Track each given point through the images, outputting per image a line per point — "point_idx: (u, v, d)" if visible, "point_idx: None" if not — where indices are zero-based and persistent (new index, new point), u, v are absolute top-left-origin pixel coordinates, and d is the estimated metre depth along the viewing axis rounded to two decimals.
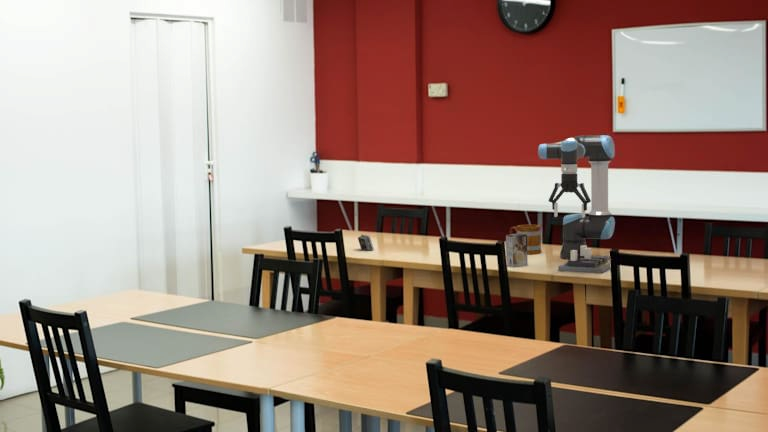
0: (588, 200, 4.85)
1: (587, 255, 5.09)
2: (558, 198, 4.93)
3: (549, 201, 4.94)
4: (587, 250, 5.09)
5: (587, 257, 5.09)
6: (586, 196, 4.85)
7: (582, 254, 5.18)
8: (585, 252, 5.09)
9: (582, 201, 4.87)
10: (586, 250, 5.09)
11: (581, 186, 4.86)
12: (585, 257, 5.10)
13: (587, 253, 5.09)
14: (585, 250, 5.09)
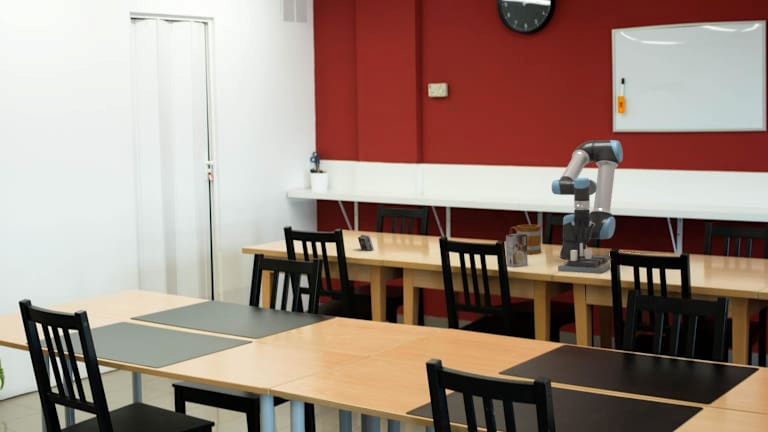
0: (588, 240, 5.08)
1: (588, 255, 5.09)
2: (580, 236, 5.11)
3: (575, 241, 5.11)
4: (588, 250, 5.09)
5: (588, 257, 5.09)
6: (589, 236, 5.08)
7: None
8: (586, 252, 5.09)
9: (583, 239, 5.09)
10: (587, 250, 5.09)
11: (591, 226, 5.06)
12: (586, 257, 5.09)
13: (588, 253, 5.09)
14: (586, 250, 5.09)
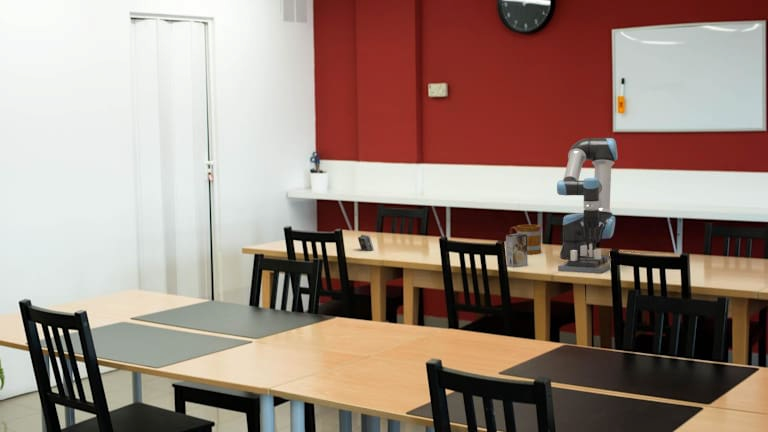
0: (597, 240, 5.06)
1: (597, 256, 5.07)
2: (590, 236, 5.09)
3: (585, 241, 5.09)
4: (597, 250, 5.06)
5: (597, 258, 5.07)
6: (598, 236, 5.05)
7: (582, 254, 5.18)
8: (595, 252, 5.07)
9: (592, 240, 5.07)
10: (596, 250, 5.06)
11: (601, 226, 5.04)
12: (595, 258, 5.07)
13: (597, 253, 5.06)
14: (595, 250, 5.07)
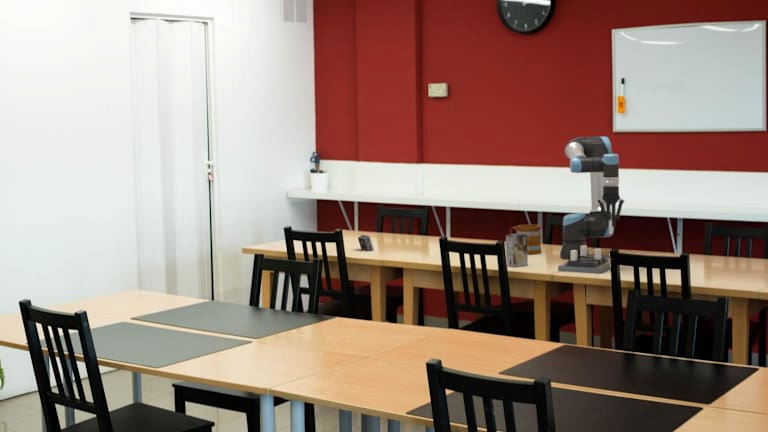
0: (617, 217, 5.00)
1: (597, 256, 5.07)
2: (609, 213, 5.03)
3: (604, 218, 5.03)
4: (597, 250, 5.06)
5: (597, 258, 5.07)
6: (618, 213, 4.99)
7: (582, 254, 5.18)
8: (595, 252, 5.07)
9: (612, 217, 5.01)
10: (596, 250, 5.06)
11: (620, 202, 4.98)
12: (595, 258, 5.07)
13: (597, 253, 5.06)
14: (595, 250, 5.07)
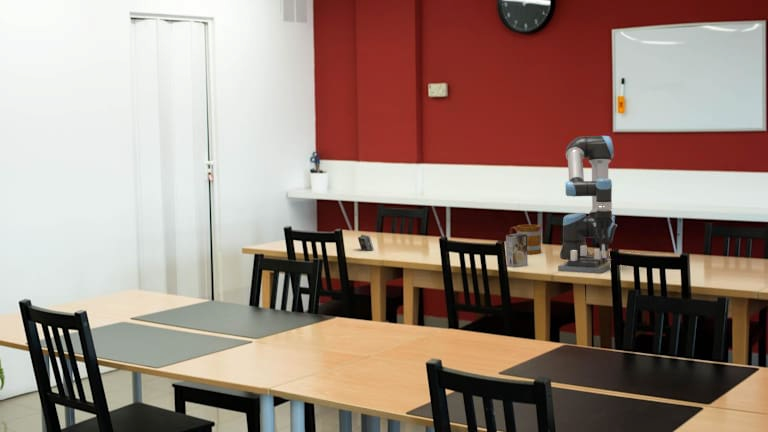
0: (610, 241, 5.03)
1: (597, 255, 5.07)
2: (602, 237, 5.06)
3: (597, 242, 5.06)
4: (597, 250, 5.06)
5: (597, 258, 5.07)
6: (611, 237, 5.03)
7: (582, 254, 5.18)
8: (595, 252, 5.07)
9: (605, 241, 5.04)
10: (596, 250, 5.07)
11: (613, 227, 5.01)
12: (595, 258, 5.07)
13: (597, 253, 5.06)
14: (595, 250, 5.07)
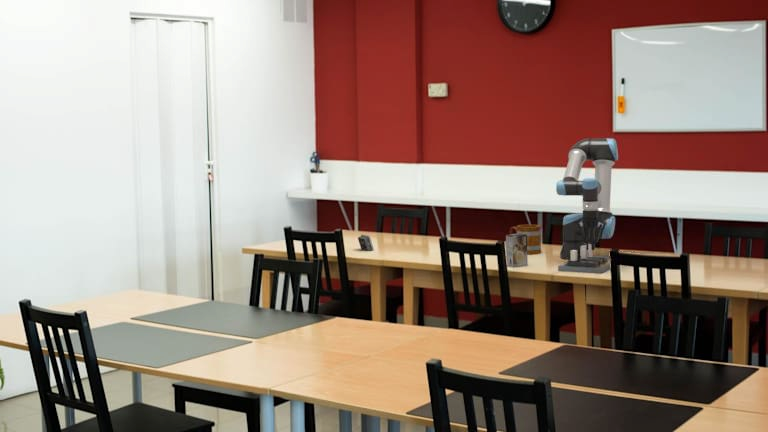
0: (596, 241, 5.06)
1: (583, 255, 5.10)
2: (589, 237, 5.09)
3: (584, 242, 5.09)
4: (583, 250, 5.10)
5: (583, 257, 5.10)
6: (597, 237, 5.06)
7: None
8: (581, 252, 5.10)
9: (591, 240, 5.08)
10: (582, 250, 5.10)
11: (600, 226, 5.05)
12: (581, 257, 5.10)
13: (583, 253, 5.10)
14: (581, 250, 5.10)
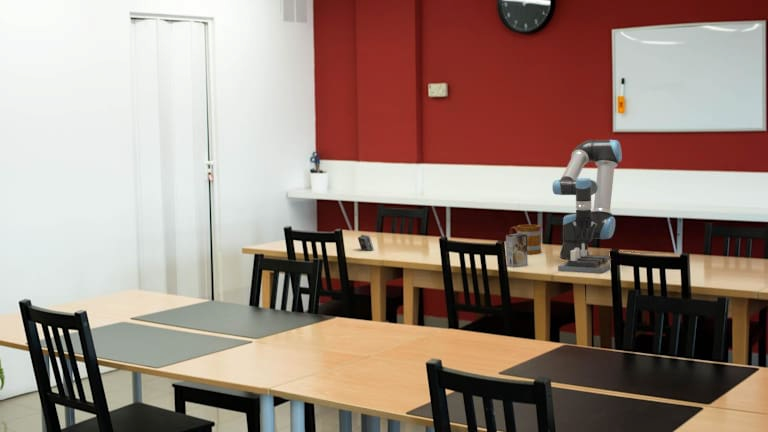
0: (590, 240, 5.08)
1: (577, 254, 5.11)
2: (582, 236, 5.11)
3: (577, 241, 5.11)
4: (577, 250, 5.11)
5: (577, 256, 5.11)
6: (590, 236, 5.07)
7: None
8: None
9: (584, 240, 5.09)
10: None
11: (593, 226, 5.06)
12: None
13: (577, 253, 5.11)
14: None
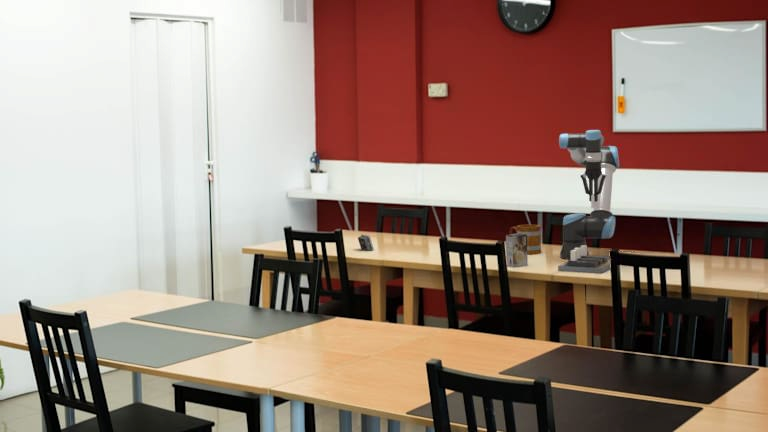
0: (599, 192, 5.10)
1: (577, 254, 5.11)
2: (592, 188, 5.13)
3: (587, 193, 5.13)
4: (577, 250, 5.11)
5: (577, 256, 5.12)
6: (600, 188, 5.09)
7: (582, 254, 5.18)
8: None
9: (594, 191, 5.11)
10: None
11: (602, 177, 5.08)
12: None
13: (577, 253, 5.11)
14: None
